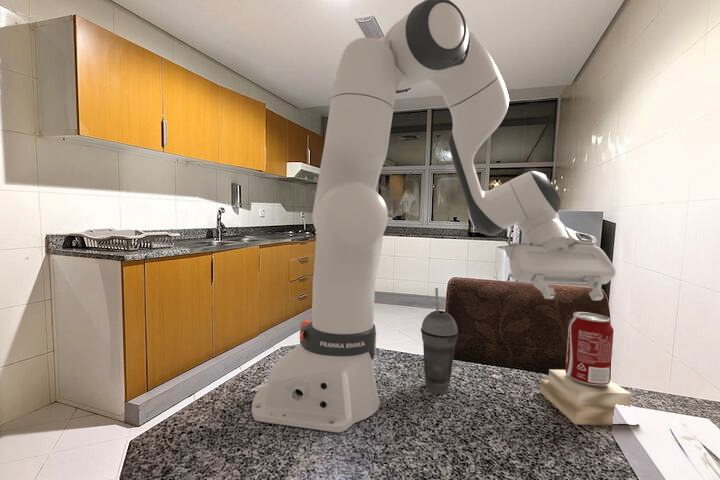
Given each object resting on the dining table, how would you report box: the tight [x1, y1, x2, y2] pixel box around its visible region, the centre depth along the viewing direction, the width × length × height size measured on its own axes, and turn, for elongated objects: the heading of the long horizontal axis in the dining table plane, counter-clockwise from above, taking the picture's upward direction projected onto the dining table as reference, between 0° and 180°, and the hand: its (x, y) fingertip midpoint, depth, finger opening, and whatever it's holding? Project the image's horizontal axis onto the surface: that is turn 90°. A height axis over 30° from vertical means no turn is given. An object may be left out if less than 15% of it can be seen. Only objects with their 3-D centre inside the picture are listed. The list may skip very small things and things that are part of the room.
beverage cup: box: [420, 287, 459, 395], centre depth 68 cm, size 7×7×20 cm
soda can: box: [565, 311, 614, 387], centre depth 63 cm, size 7×7×12 cm
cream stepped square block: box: [539, 368, 635, 426], centre depth 63 cm, size 11×11×5 cm
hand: (574, 298), depth 67 cm, fingers open, 8 cm apart
